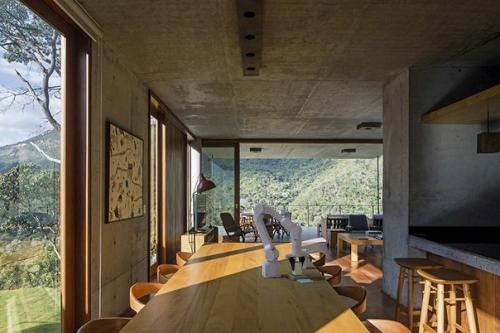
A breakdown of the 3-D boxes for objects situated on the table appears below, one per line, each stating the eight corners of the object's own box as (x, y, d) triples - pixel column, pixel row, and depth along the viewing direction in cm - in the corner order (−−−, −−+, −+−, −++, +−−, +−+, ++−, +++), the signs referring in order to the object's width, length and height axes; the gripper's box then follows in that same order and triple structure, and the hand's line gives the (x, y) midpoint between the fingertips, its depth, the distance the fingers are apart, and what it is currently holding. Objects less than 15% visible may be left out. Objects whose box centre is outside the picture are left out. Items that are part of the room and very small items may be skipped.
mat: (302, 283, 214) (302, 282, 215) (297, 280, 221) (297, 279, 221) (313, 282, 216) (313, 281, 216) (308, 279, 223) (308, 278, 223)
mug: (307, 267, 257) (306, 249, 258) (306, 269, 251) (306, 250, 251) (291, 266, 259) (291, 248, 260) (290, 269, 253) (290, 250, 253)
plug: (295, 275, 225) (295, 262, 226) (292, 273, 229) (292, 261, 229) (301, 274, 226) (301, 261, 227) (298, 273, 230) (298, 260, 231)
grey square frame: (292, 280, 222) (292, 277, 222) (287, 276, 231) (287, 274, 231) (307, 279, 225) (307, 276, 225) (301, 275, 233) (301, 273, 233)
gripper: (287, 248, 223) (287, 272, 222) (310, 247, 227) (311, 270, 226) (283, 246, 229) (283, 269, 229) (305, 245, 233) (306, 268, 233)
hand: (296, 270), depth 228 cm, fingers closed on plug, 4 cm apart
